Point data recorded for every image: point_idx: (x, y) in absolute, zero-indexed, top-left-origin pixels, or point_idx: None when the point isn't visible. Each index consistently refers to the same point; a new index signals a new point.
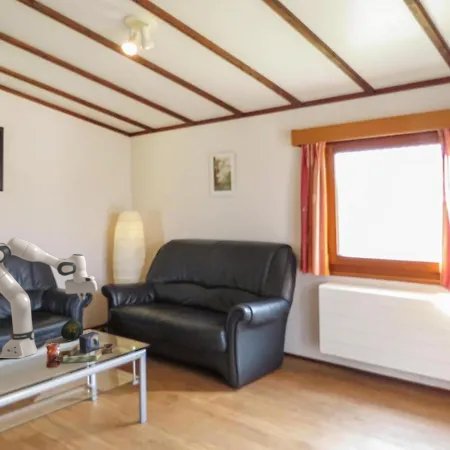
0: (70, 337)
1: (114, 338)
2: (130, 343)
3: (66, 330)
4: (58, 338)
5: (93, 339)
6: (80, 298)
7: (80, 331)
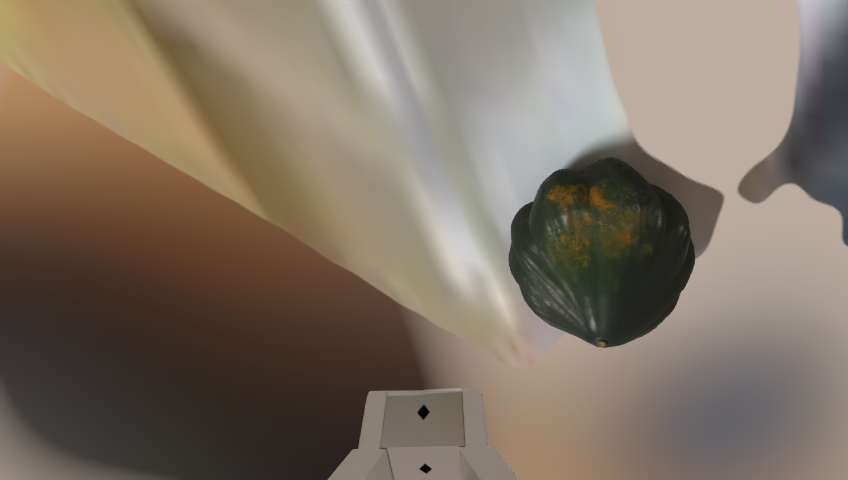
0: (586, 171)
1: (261, 186)
2: (46, 43)
3: (636, 190)
4: None
5: None
6: (457, 414)
7: (517, 226)
